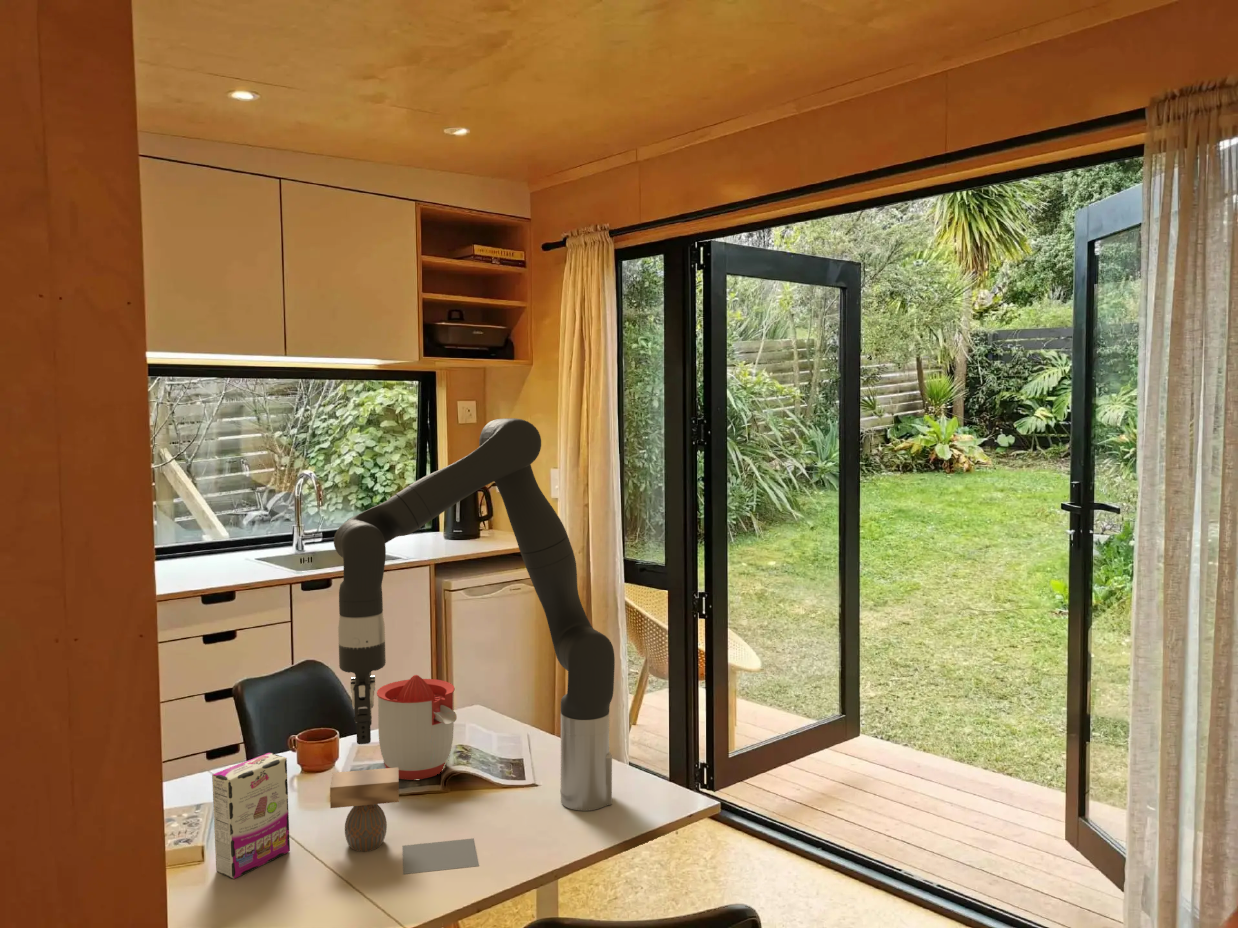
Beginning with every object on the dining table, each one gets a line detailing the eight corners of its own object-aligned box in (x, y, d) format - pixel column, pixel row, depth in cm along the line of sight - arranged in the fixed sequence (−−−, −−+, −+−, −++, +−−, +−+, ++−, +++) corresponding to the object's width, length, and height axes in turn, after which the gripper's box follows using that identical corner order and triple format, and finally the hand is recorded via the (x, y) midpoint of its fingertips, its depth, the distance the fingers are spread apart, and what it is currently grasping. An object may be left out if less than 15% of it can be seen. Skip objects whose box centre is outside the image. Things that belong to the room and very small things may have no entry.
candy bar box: (271, 844, 163) (269, 750, 162) (290, 852, 160) (289, 756, 159) (213, 872, 153) (210, 772, 152) (232, 880, 151) (230, 779, 150)
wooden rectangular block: (398, 786, 166) (398, 767, 166) (398, 801, 160) (398, 781, 159) (332, 792, 163) (332, 772, 163) (330, 808, 157) (330, 787, 157)
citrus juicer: (425, 793, 184) (424, 692, 183) (361, 775, 193) (359, 678, 192) (477, 767, 198) (477, 672, 196) (415, 751, 207) (414, 660, 205)
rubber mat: (473, 841, 164) (473, 838, 164) (479, 869, 155) (479, 865, 155) (402, 848, 162) (402, 845, 161) (403, 877, 152) (403, 873, 152)
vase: (375, 859, 158) (375, 807, 157) (337, 854, 159) (336, 803, 159) (393, 840, 165) (393, 790, 164) (356, 836, 166) (356, 787, 166)
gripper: (384, 649, 153) (387, 747, 155) (385, 628, 167) (387, 718, 168) (336, 652, 152) (339, 751, 153) (340, 631, 166) (343, 722, 167)
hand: (364, 734), depth 161 cm, fingers open, 8 cm apart
